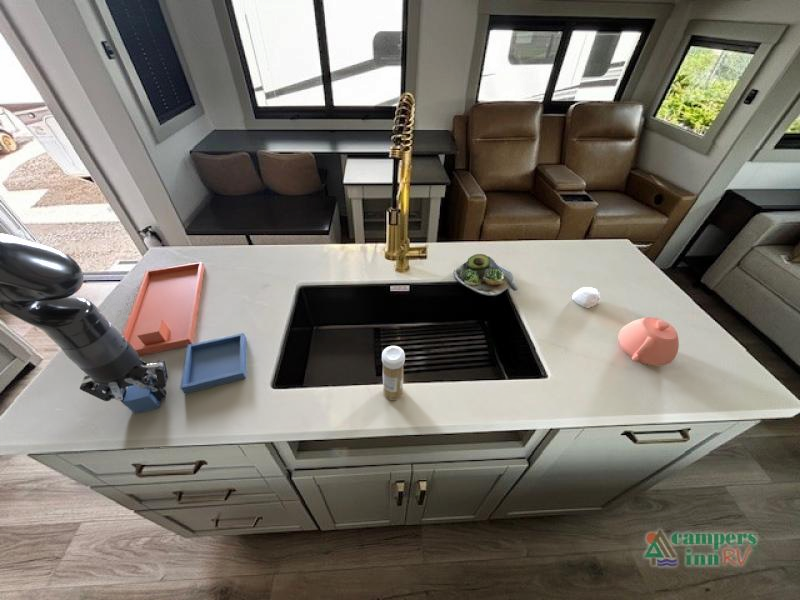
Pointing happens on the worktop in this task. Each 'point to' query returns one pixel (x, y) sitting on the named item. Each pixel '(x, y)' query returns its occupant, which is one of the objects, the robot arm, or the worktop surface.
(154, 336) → the terracotta block
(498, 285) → the avocado toast plate
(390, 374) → the sprinkles bottle
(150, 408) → the slate-blue block
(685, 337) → the worktop surface
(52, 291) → the robot arm
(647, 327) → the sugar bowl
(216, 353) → the slate-blue tray
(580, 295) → the garlic
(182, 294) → the terracotta tray
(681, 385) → the worktop surface
